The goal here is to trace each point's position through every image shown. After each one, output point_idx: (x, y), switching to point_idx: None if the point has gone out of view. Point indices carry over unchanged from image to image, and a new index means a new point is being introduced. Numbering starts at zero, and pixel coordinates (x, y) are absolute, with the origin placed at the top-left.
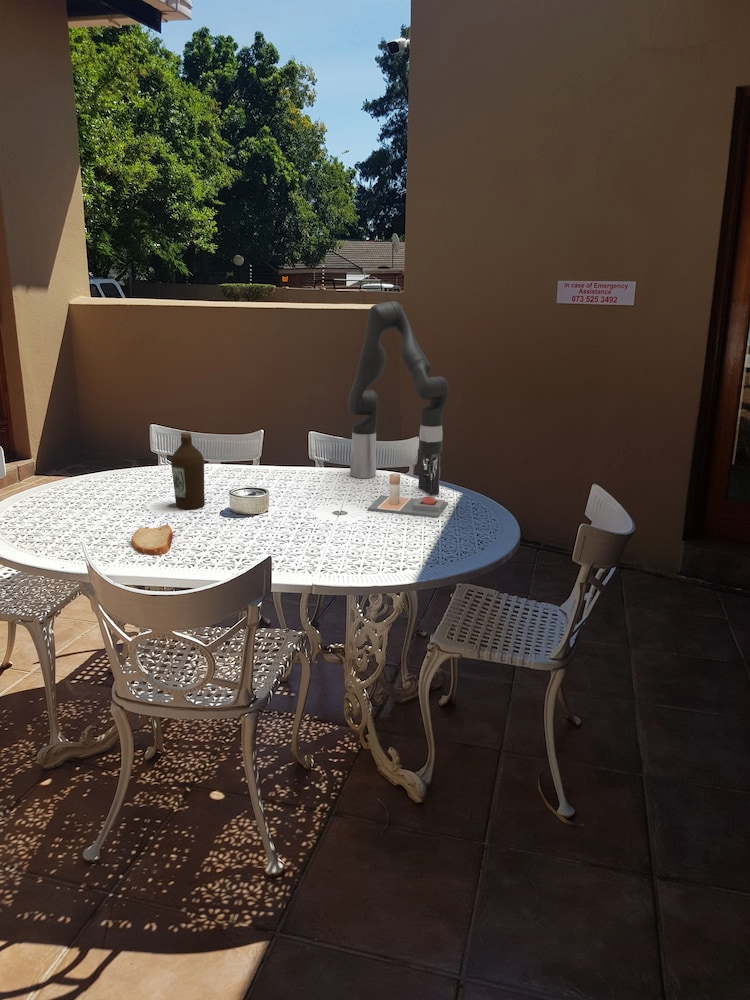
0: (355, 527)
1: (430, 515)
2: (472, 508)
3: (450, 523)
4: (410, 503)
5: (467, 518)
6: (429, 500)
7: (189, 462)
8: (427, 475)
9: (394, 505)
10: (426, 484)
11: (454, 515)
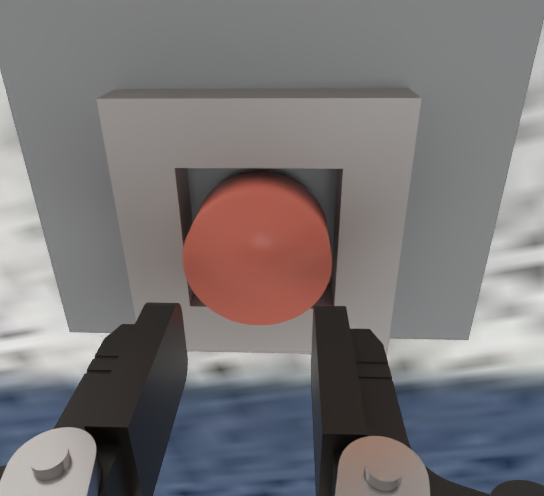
0: None
1: (59, 277)
2: None
3: (14, 403)
4: (321, 5)
5: (165, 466)
6: (189, 283)
7: None
8: (343, 457)
9: None
10: (86, 395)
11: (189, 401)
